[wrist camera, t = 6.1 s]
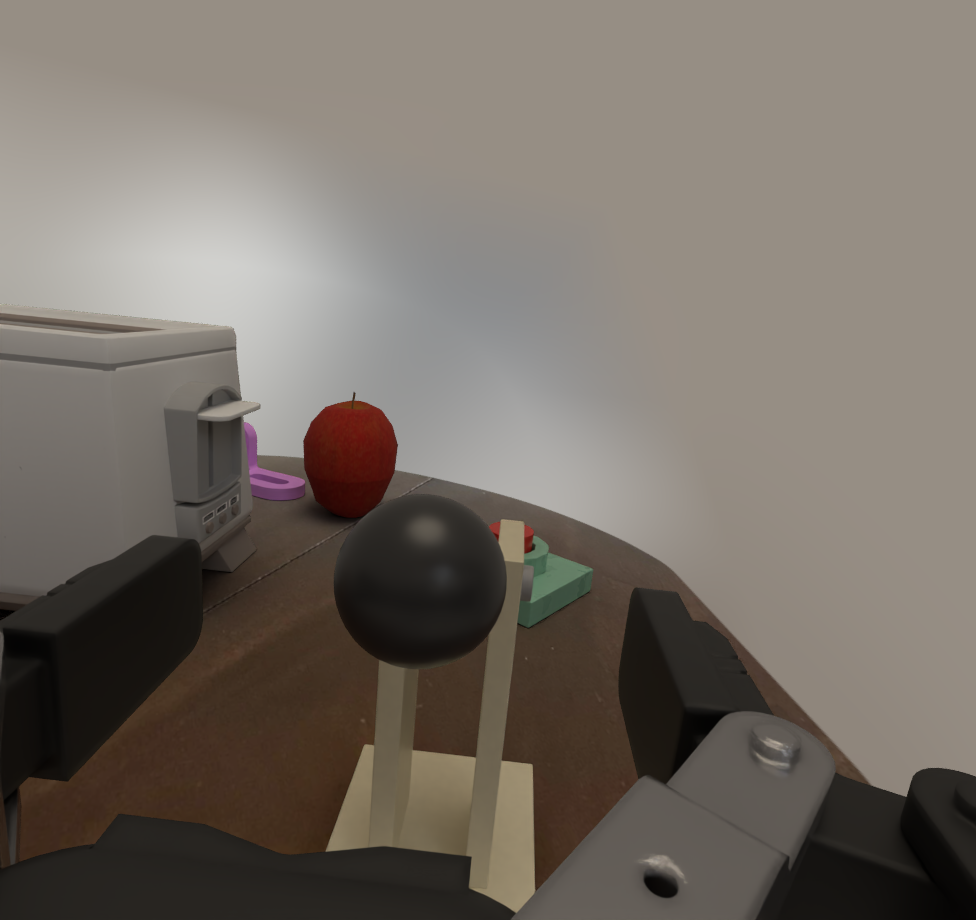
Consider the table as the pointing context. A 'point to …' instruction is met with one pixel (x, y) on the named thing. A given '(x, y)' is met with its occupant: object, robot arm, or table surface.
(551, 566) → the box
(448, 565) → the lever
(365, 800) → the bracket
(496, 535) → the button
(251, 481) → the bracket
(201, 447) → the toaster
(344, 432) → the apple
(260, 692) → the table surface
